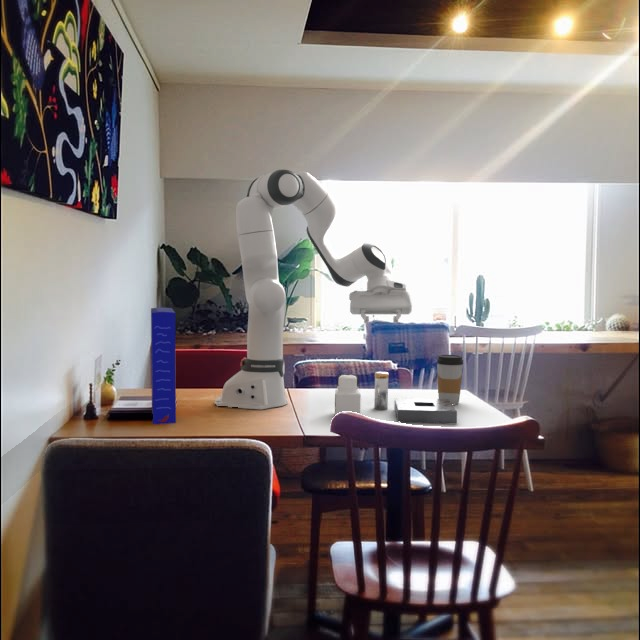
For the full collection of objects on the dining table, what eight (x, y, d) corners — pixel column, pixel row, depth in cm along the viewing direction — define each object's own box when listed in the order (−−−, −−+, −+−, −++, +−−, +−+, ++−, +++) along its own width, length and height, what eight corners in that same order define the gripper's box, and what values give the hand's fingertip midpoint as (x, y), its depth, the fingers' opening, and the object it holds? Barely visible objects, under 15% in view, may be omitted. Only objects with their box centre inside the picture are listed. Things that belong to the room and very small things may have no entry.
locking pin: (374, 409, 183) (375, 373, 182) (373, 406, 187) (374, 371, 186) (388, 410, 182) (388, 373, 182) (387, 407, 186) (388, 371, 186)
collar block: (397, 422, 167) (398, 409, 167) (394, 409, 183) (394, 398, 183) (456, 423, 166) (457, 411, 166) (448, 410, 182) (448, 399, 182)
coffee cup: (462, 406, 189) (464, 358, 188) (435, 404, 191) (436, 357, 190) (461, 400, 197) (463, 355, 196) (435, 399, 199) (436, 354, 198)
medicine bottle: (334, 413, 178) (335, 372, 177) (359, 413, 178) (360, 372, 177) (334, 418, 171) (335, 376, 170) (360, 419, 171) (360, 376, 170)
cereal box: (175, 422, 164) (175, 311, 162) (152, 424, 162) (151, 311, 160) (172, 406, 185) (171, 307, 182) (151, 407, 183) (151, 307, 181)
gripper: (349, 284, 204) (348, 315, 195) (410, 284, 202) (413, 315, 193) (349, 297, 208) (349, 328, 199) (409, 297, 207) (411, 328, 198)
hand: (381, 322), depth 196 cm, fingers open, 8 cm apart
